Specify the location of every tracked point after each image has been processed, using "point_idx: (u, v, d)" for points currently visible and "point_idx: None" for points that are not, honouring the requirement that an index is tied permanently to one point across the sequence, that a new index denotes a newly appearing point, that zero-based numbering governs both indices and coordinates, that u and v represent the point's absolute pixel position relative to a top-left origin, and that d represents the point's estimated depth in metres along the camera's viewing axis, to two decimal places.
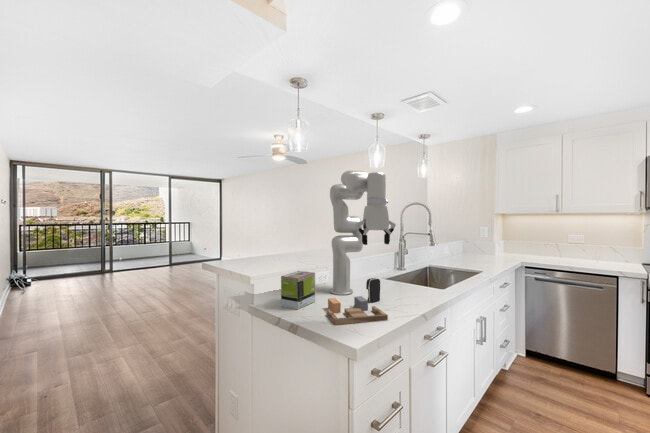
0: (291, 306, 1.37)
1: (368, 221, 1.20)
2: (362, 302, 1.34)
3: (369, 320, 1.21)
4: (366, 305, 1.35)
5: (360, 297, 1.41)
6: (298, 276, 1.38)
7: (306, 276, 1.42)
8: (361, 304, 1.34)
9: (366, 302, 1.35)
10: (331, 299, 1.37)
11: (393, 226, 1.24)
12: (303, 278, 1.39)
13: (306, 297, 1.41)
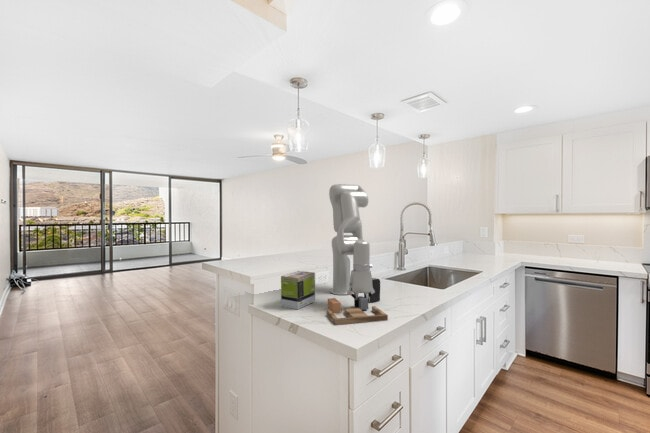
0: (291, 306, 1.37)
1: (354, 285, 1.35)
2: (362, 300, 1.34)
3: (369, 320, 1.21)
4: (366, 303, 1.35)
5: (360, 296, 1.41)
6: (298, 276, 1.38)
7: (306, 276, 1.42)
8: (361, 302, 1.34)
9: (366, 300, 1.35)
10: (331, 299, 1.37)
11: (372, 292, 1.39)
12: (303, 278, 1.39)
13: (306, 297, 1.41)
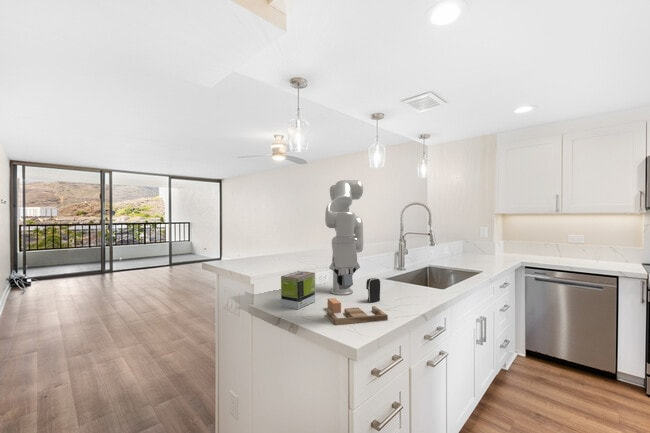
0: (291, 306, 1.37)
1: (336, 259, 1.23)
2: (345, 275, 1.23)
3: (369, 320, 1.21)
4: (350, 278, 1.23)
5: None
6: (298, 276, 1.38)
7: (306, 276, 1.42)
8: (344, 277, 1.22)
9: (350, 275, 1.23)
10: (331, 299, 1.37)
11: (357, 267, 1.27)
12: (303, 278, 1.39)
13: (306, 297, 1.41)
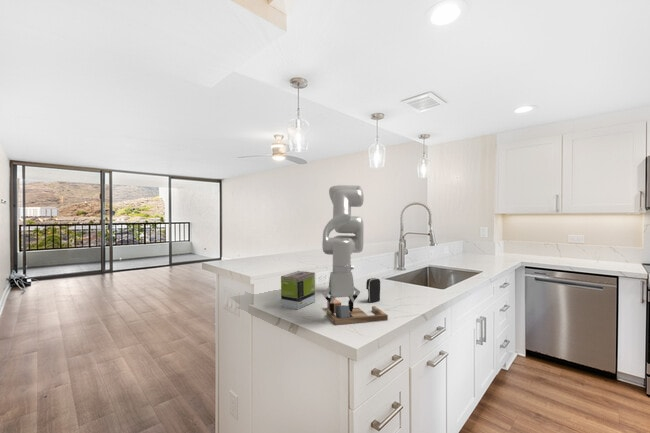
0: (291, 306, 1.37)
1: (333, 289, 1.22)
2: (342, 307, 1.20)
3: (369, 320, 1.21)
4: (347, 311, 1.20)
5: (341, 305, 1.26)
6: (298, 276, 1.38)
7: (306, 276, 1.42)
8: (341, 309, 1.20)
9: (347, 307, 1.20)
10: None
11: (357, 293, 1.26)
12: (303, 278, 1.39)
13: (306, 297, 1.41)
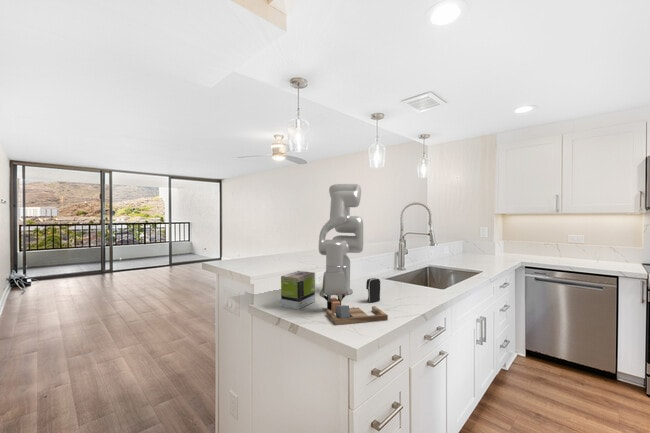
0: (291, 306, 1.37)
1: (326, 287, 1.32)
2: (342, 307, 1.20)
3: (369, 320, 1.21)
4: (347, 311, 1.20)
5: (341, 305, 1.26)
6: (298, 276, 1.38)
7: (306, 276, 1.42)
8: (341, 309, 1.20)
9: (347, 307, 1.20)
10: (331, 299, 1.37)
11: (346, 294, 1.36)
12: (303, 278, 1.39)
13: (306, 297, 1.41)
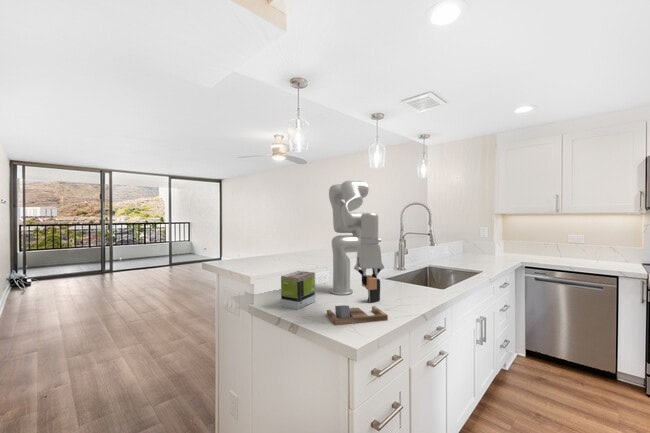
0: (291, 306, 1.37)
1: (361, 260, 1.25)
2: (342, 307, 1.20)
3: (369, 320, 1.21)
4: (347, 311, 1.20)
5: (341, 305, 1.26)
6: (298, 276, 1.38)
7: (306, 276, 1.42)
8: (341, 309, 1.20)
9: (347, 307, 1.20)
10: None
11: (381, 268, 1.29)
12: (303, 278, 1.39)
13: (306, 297, 1.41)
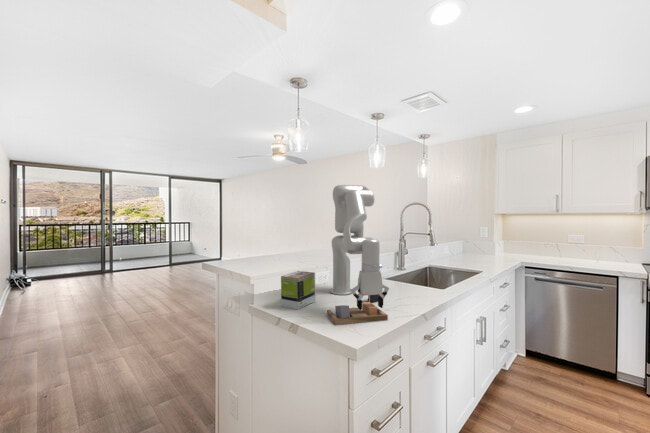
0: (291, 306, 1.37)
1: (362, 287, 1.25)
2: (342, 307, 1.20)
3: (369, 320, 1.21)
4: (347, 311, 1.20)
5: (341, 305, 1.26)
6: (298, 276, 1.38)
7: (306, 276, 1.42)
8: (341, 309, 1.20)
9: (347, 307, 1.20)
10: (366, 303, 1.31)
11: (386, 290, 1.30)
12: (303, 278, 1.39)
13: (306, 297, 1.41)
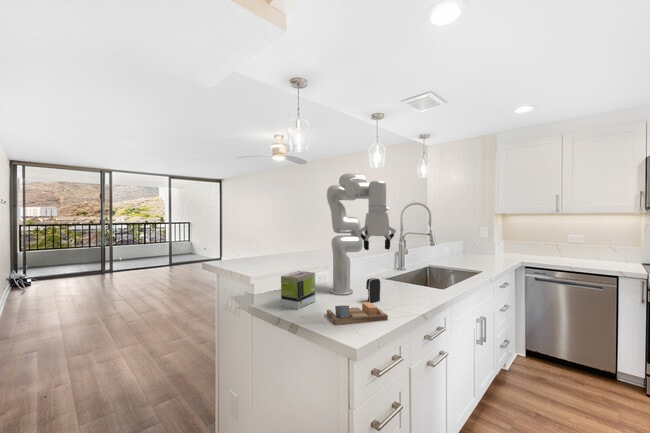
0: (291, 306, 1.37)
1: (369, 227, 1.26)
2: (342, 307, 1.20)
3: (369, 320, 1.21)
4: (347, 311, 1.20)
5: (341, 305, 1.26)
6: (298, 276, 1.38)
7: (306, 276, 1.42)
8: (341, 309, 1.20)
9: (347, 307, 1.20)
10: (366, 303, 1.31)
11: (393, 232, 1.30)
12: (303, 278, 1.39)
13: (306, 297, 1.41)
